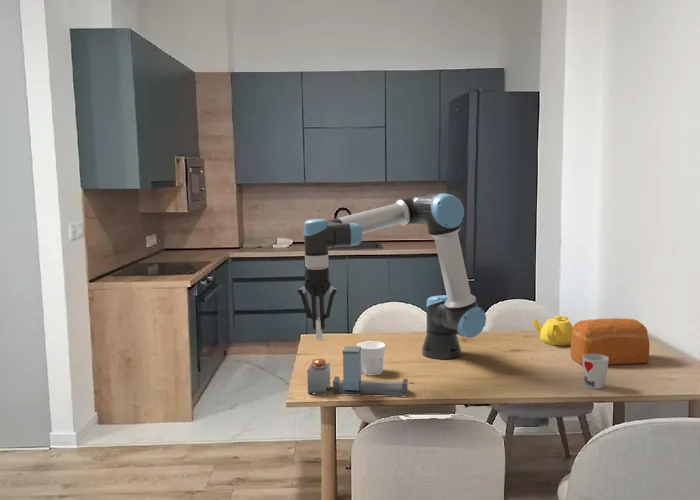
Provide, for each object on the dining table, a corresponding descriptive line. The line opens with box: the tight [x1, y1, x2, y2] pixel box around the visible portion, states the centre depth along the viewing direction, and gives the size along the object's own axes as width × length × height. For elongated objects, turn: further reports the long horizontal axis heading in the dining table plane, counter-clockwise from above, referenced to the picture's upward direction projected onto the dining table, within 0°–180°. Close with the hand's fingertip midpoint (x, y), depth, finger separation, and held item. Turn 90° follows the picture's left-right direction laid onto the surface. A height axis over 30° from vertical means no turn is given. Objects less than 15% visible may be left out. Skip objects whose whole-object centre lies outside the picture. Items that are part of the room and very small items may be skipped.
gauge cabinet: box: [307, 362, 331, 395], centre depth 213 cm, size 6×8×8 cm
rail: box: [331, 376, 409, 398], centre depth 211 cm, size 24×7×4 cm, turn 82°
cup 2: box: [582, 354, 609, 390], centre depth 213 cm, size 8×8×10 cm
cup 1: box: [356, 340, 386, 376], centre depth 231 cm, size 10×10×10 cm
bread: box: [570, 317, 650, 366], centre depth 241 cm, size 14×26×16 cm, turn 95°
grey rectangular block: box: [342, 345, 362, 390], centre depth 211 cm, size 5×6×13 cm
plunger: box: [311, 358, 327, 368], centre depth 212 cm, size 4×4×9 cm
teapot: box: [531, 315, 574, 347], centre depth 268 cm, size 20×18×11 cm
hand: (319, 338), depth 211 cm, fingers closed
